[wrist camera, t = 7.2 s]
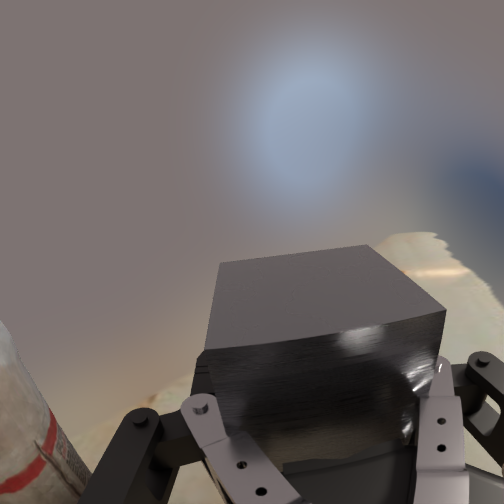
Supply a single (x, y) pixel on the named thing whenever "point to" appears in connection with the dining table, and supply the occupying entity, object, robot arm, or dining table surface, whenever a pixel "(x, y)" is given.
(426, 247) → the dining table surface
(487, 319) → the dining table surface
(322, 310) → the brushed steel block
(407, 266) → the dining table surface
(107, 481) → the robot arm
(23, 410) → the white spray can
